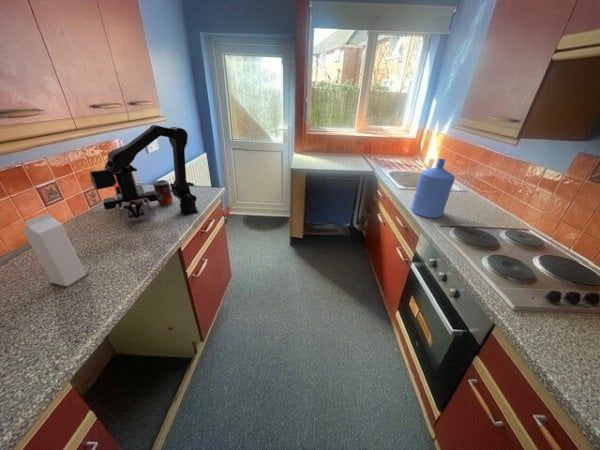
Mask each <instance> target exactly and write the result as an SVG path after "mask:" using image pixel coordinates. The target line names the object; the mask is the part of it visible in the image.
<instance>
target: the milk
mask: <svg viewBox="0 0 600 450" xmlns="http://www.w3.org/2000/svg"><path fill="white" fill-rule="evenodd" d="M24 224H25V225H26V227H25V228H24V229H23V230H22V232H23V234H24V236H25V237H26V238H25V239H27V241H28V243H29V245H30V246H31V249H32V250H33V251H34V253H35V255H36V257H37V258H38V261H39V262H40V264H41V265H42V267H43V269H44V271H45V272H46V274H47V276H48V278H49V279H50V281H51V283H52V284H55V285H58V286H63V287H69V286H71V285H73V284H74V283H76V282H77V281H78V280H80V279H82V278H83V277H85V276H86V275H87V273H86V271H85V269H84V267H83V265H82V263H81V261H80V259H79V256H78V255H77V253H76V250H75V248H74V247H73V244H72V242H71V240H70V238H69V236H68V233H67V231H66V229H65V228H64V225H63V223H61V222H60V221H58V220H57V219H55V218H54V217H52V215H51V213H50V212H47V213H45V214H41V215H39V216H36V217H34V218H33V217H32V218H31V219H28V220H25V222H24Z"/></svg>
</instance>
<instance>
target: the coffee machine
mask: <svg viewBox="0 0 600 450" xmlns="http://www.w3.org/2000/svg"><path fill="white" fill-rule="evenodd" d="M114 188H115V187H114ZM136 188H137V191H138V194H139V196H141V195H146V194H145V192H146V191H145V190H144V187H143V185H142V184H136ZM115 199H116V200H117V199H123V198H122V195H121V194H117V191H116V188H115ZM144 201H145V203H147V205H148V208H149V211H150V206H149V201H148V199H145V200H144ZM118 207H119V209H120V208H122V205H121V204H118Z"/></svg>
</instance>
